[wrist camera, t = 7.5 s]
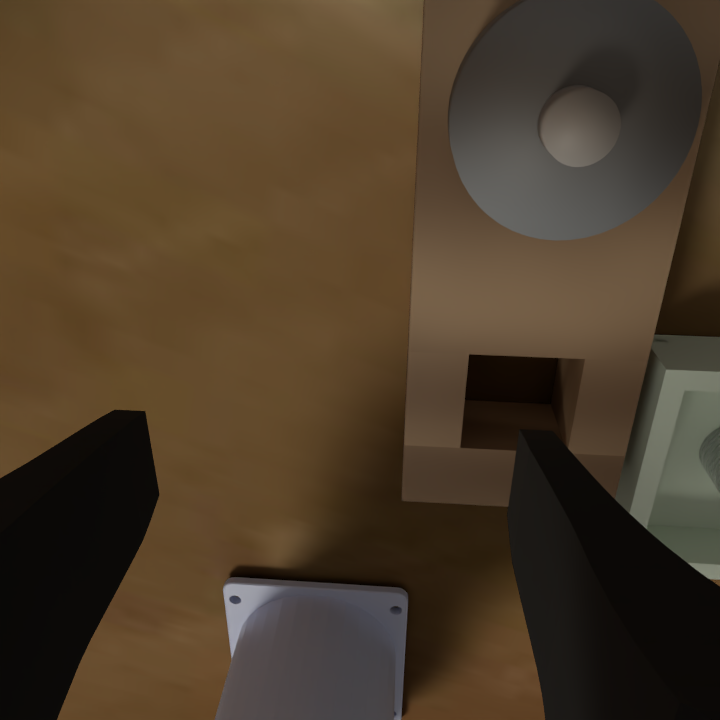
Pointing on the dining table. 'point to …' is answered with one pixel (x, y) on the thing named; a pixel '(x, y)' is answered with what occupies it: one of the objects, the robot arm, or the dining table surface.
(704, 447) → the lock pin
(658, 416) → the tray
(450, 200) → the block
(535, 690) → the dining table surface
